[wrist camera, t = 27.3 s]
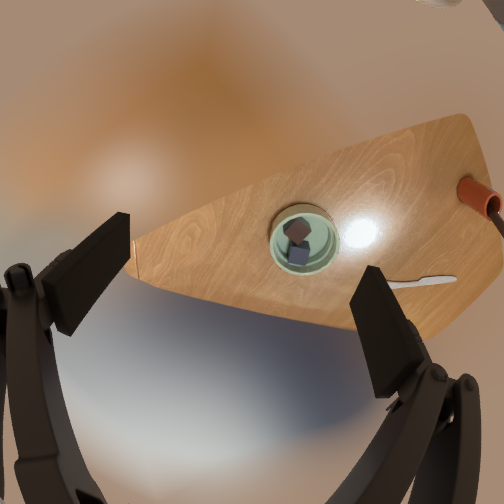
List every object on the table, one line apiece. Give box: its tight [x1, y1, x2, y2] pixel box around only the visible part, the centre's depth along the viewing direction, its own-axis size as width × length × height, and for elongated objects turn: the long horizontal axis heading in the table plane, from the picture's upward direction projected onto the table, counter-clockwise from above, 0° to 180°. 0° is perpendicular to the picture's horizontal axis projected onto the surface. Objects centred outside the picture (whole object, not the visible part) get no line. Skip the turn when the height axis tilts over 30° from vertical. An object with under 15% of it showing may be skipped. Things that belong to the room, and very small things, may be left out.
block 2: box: [287, 239, 311, 266], centre depth 50 cm, size 4×4×4 cm
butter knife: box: [387, 276, 457, 289], centre depth 54 cm, size 1×24×3 cm
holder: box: [457, 177, 502, 221], centre depth 38 cm, size 6×6×10 cm
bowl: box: [270, 204, 340, 276], centre depth 49 cm, size 12×12×5 cm
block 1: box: [283, 216, 311, 245], centre depth 48 cm, size 4×4×4 cm
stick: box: [486, 201, 504, 238], centre depth 33 cm, size 2×2×22 cm
